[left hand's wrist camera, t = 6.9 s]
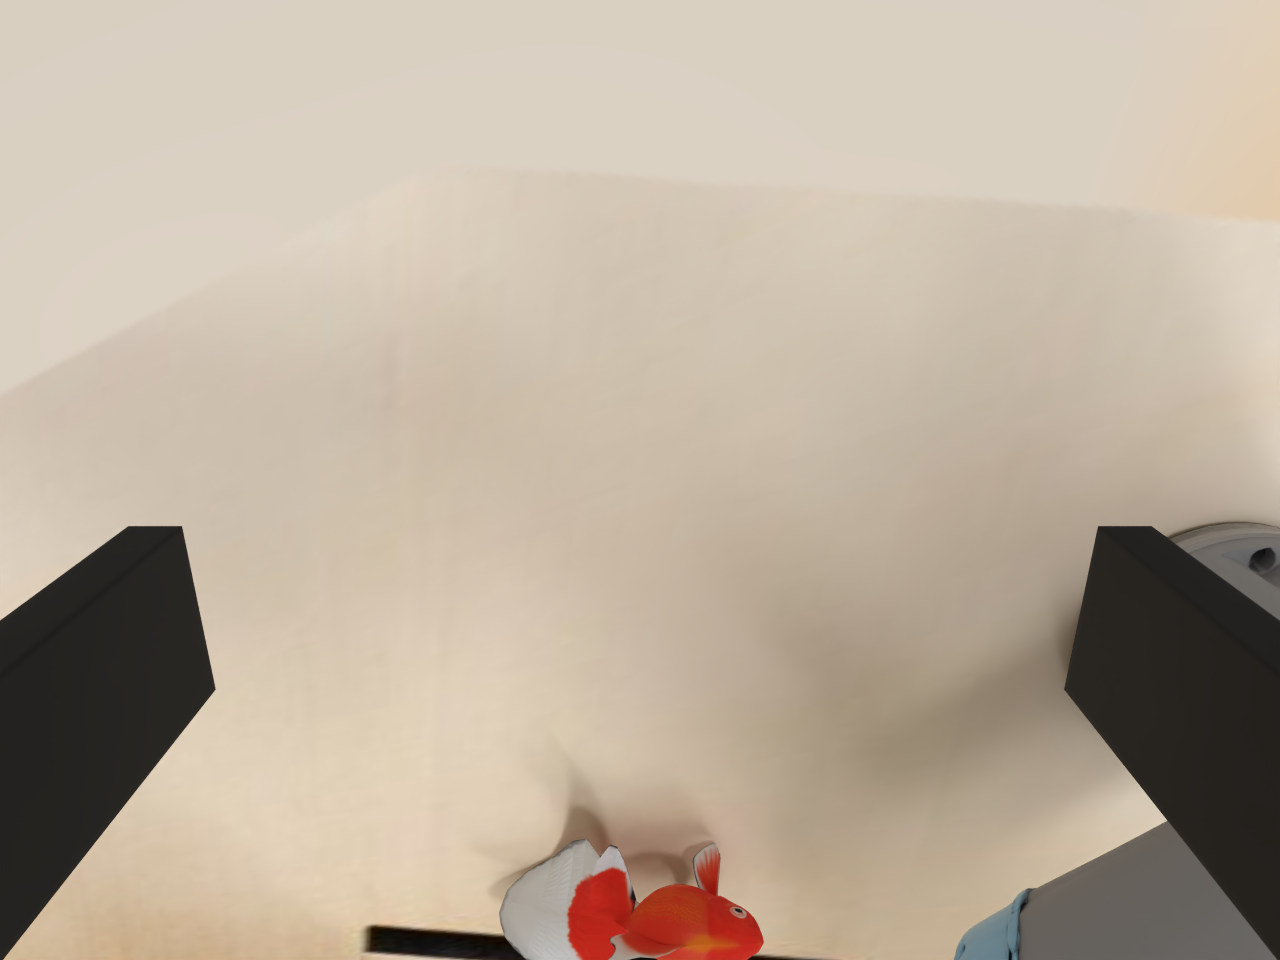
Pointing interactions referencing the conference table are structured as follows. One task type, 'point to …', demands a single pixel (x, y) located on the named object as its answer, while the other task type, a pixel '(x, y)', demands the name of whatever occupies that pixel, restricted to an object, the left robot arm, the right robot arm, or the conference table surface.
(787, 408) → the conference table surface
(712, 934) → the fish
